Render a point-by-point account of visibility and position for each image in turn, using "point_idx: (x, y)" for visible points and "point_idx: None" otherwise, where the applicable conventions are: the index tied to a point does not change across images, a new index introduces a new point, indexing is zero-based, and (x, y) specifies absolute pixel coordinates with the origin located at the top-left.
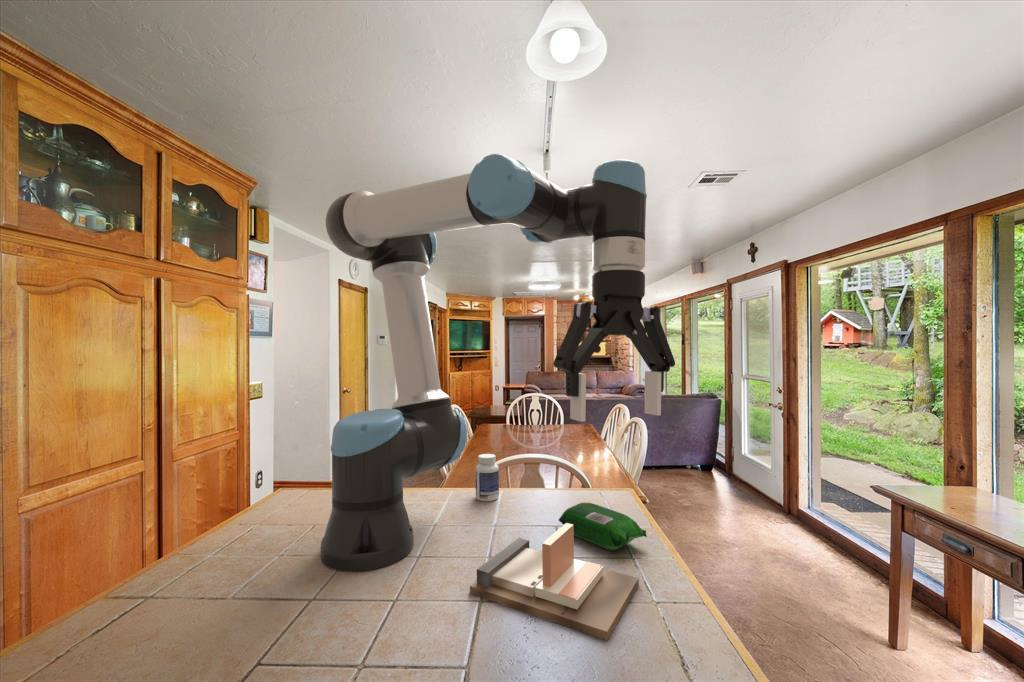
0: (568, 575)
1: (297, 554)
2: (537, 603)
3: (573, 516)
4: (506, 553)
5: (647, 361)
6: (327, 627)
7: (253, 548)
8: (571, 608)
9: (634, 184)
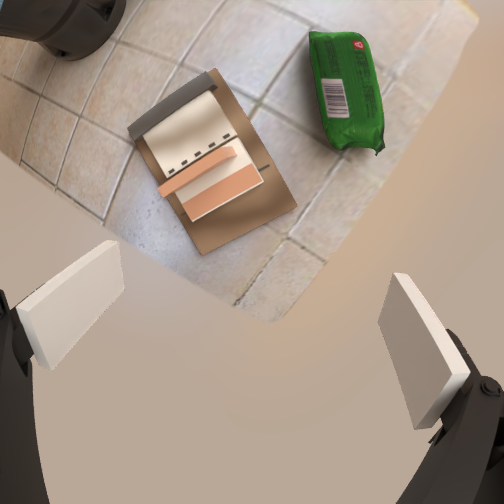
0: (212, 178)
1: None
2: None
3: (313, 59)
4: (169, 105)
5: (451, 431)
6: (44, 136)
7: None
8: None
9: None
